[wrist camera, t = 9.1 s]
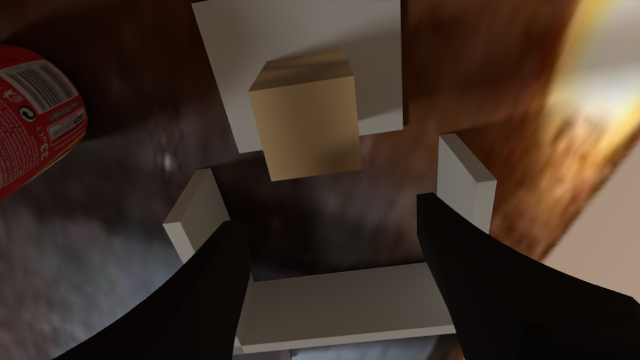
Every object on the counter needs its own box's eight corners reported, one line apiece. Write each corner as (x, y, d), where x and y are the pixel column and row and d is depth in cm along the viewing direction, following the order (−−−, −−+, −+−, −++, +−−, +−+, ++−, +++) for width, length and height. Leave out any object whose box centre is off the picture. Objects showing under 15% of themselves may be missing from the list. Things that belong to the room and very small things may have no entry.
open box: (246, 290, 30) (232, 354, 25) (197, 170, 23) (162, 224, 18) (445, 268, 28) (473, 331, 23) (454, 132, 22) (497, 180, 16)
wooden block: (282, 132, 21) (271, 181, 16) (266, 61, 19) (247, 91, 14) (351, 122, 21) (362, 169, 16) (343, 49, 18) (353, 75, 13)
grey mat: (240, 150, 22) (239, 153, 22) (193, 3, 17) (191, 3, 17) (401, 127, 21) (403, 129, 21) (397, -35, 17) (399, -35, 16)
